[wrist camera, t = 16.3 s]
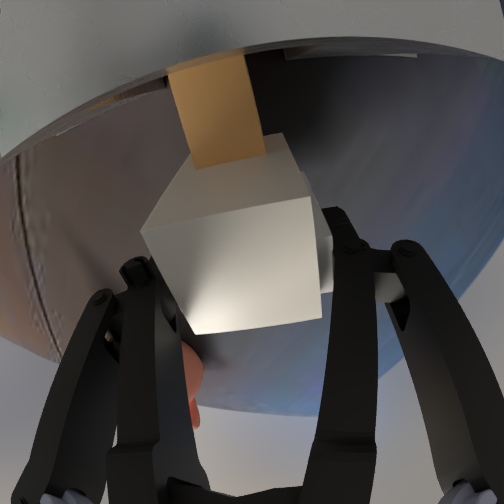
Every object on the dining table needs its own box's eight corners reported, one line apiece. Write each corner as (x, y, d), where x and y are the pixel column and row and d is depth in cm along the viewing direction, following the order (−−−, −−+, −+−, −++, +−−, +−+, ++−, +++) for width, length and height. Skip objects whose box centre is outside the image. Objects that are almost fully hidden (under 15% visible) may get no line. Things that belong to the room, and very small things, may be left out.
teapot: (176, 389, 37) (167, 446, 29) (70, 324, 29) (43, 386, 21) (236, 367, 32) (234, 438, 25) (112, 281, 24) (74, 364, 17)
